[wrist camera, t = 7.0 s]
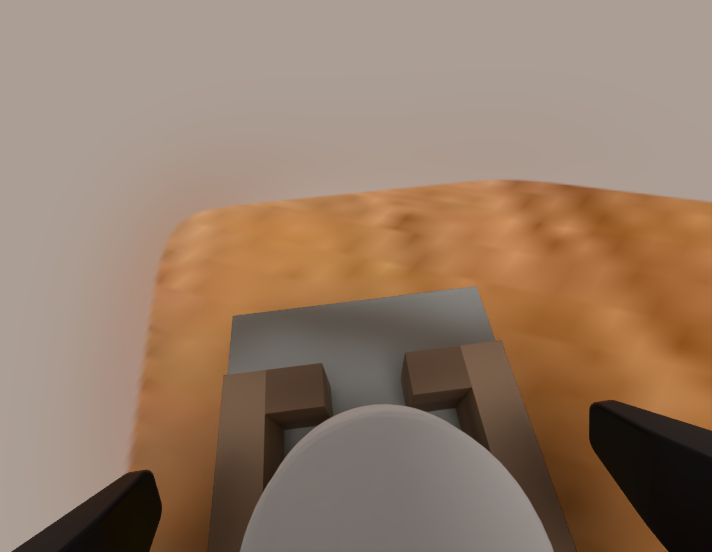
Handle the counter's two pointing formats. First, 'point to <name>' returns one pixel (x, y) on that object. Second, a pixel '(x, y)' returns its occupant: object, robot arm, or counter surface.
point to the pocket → (368, 392)
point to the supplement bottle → (392, 491)
